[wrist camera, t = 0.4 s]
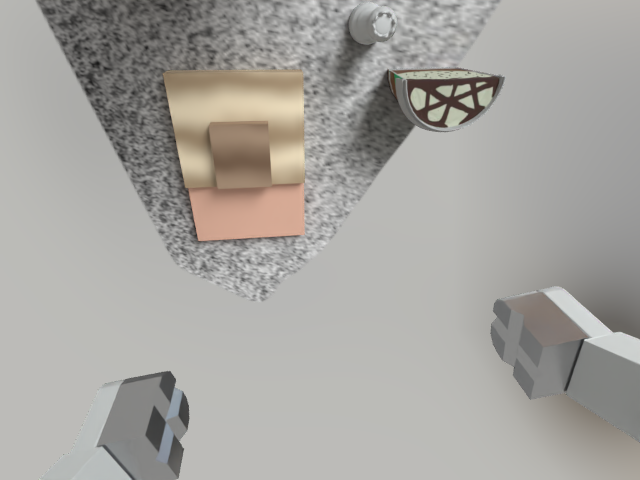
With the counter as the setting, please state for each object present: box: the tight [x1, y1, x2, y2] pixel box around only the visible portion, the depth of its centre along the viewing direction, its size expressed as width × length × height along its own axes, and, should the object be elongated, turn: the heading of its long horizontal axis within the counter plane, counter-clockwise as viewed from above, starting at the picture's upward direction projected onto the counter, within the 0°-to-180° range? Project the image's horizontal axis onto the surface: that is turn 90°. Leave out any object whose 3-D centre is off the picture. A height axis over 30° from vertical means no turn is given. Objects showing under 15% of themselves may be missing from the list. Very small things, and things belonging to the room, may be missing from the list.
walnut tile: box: [208, 121, 272, 189], centre depth 46 cm, size 8×7×2 cm
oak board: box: [163, 70, 305, 188], centre depth 47 cm, size 14×16×3 cm
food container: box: [388, 67, 506, 132], centre depth 45 cm, size 12×6×10 cm, turn 91°
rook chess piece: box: [349, 2, 397, 45], centre depth 41 cm, size 4×4×8 cm
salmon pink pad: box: [188, 183, 305, 241], centre depth 54 cm, size 9×16×2 cm, turn 90°
